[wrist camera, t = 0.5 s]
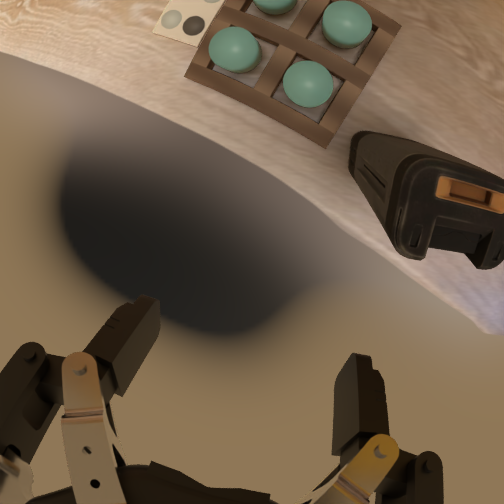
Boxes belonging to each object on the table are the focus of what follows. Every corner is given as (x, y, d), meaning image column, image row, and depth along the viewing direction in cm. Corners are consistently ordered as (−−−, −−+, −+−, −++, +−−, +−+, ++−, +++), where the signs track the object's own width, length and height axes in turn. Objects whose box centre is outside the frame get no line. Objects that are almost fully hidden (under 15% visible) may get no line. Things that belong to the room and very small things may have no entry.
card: (189, -28, 22) (187, -29, 22) (236, -16, 23) (235, -18, 22) (153, 33, 27) (151, 32, 27) (198, 47, 28) (196, 46, 27)
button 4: (298, 58, 25) (297, 52, 22) (338, 80, 25) (342, 76, 22) (277, 94, 27) (274, 91, 24) (316, 115, 27) (318, 116, 24)
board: (259, -36, 21) (256, -42, 19) (396, 30, 23) (401, 26, 21) (190, 78, 30) (183, 76, 28) (324, 146, 31) (325, 149, 30)
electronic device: (346, 177, 32) (386, 259, 15) (351, 128, 30) (409, 152, 12) (416, 189, 31) (502, 275, 14) (424, 143, 28) (530, 190, 11)
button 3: (231, 29, 24) (222, 20, 21) (269, 44, 24) (264, 37, 21) (212, 63, 26) (200, 58, 23) (249, 79, 27) (241, 76, 24)
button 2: (333, 4, 21) (336, -7, 18) (372, 26, 21) (379, 17, 18) (314, 34, 23) (314, 25, 20) (353, 56, 23) (359, 49, 20)
